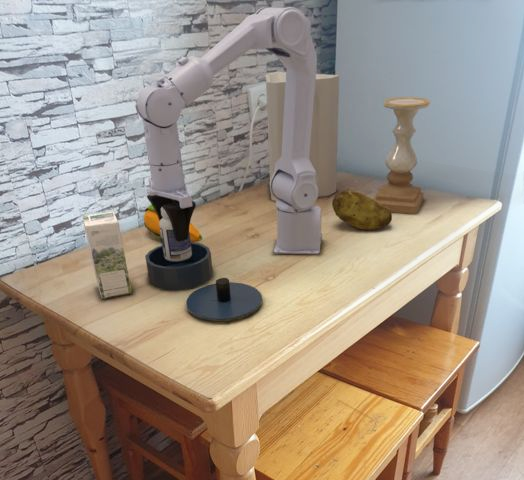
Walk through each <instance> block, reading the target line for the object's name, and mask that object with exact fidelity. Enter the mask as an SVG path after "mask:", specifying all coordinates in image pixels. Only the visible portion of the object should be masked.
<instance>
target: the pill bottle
mask: <svg viewBox="0 0 524 480" xmlns="http://www.w3.org/2000/svg"><path fill="white" fill-rule="evenodd" d="M161 215H162V217H163V218H162V219H161V220H160V222H159V227H160V233H161V238H160V240H161V244H162V245H161V246H163V252H164V257H165V259H167V260H169V261H174V262H177V261H183V260H186V259H188V258H190V257H191V256H192V249H191V241H190V232H189V234H188V239H187V240H183V241H179V242H178V241H177V240H176V238H175V236H174V232H173V228H172V225H171V222H170V219H169V217H168V215H167V213H166V211H165V210H164V208H163V207H161Z"/></svg>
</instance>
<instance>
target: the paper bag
mask: <svg viewBox="0 0 524 480" xmlns="http://www.w3.org/2000/svg"><path fill="white" fill-rule="evenodd" d="M285 84H286V71H285V72H284V71H274V72H271V73H266V74H265V88H266V91H265V92H266V117H267V139H268V141H267V142H268V145H267V146H268V168H269V169H268V170H269V171H268V172H269V182H270V181H271V178H272V176H273V174H274V170H275V163H276V162H277V161H278V160H279V159H280V157H281V154H282V137H283V119H284V102H285ZM339 94H340V74H323V73H316V79H315V91H314V103H313V116H312V128H311V140H310V153H309V160H310V162H311V164H312V165H313V167H314V169H315V171H316V184H317V187H318V197H317V198H323V197H328V196H331V195H332V194H334V193H337V177H338V176H337V173H338V171H337V170H338V138H339V137H338V136H339V135H338V133H339V100H340V99H339V98H340V97H339V96H340V95H339ZM270 200H271V201H274V202H276V197H274V196H273V195H272V193H271V192H270Z"/></svg>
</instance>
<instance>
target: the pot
mask: <svg viewBox="0 0 524 480" xmlns="http://www.w3.org/2000/svg"><path fill="white" fill-rule="evenodd" d="M191 249H192V256H191V257H190V258H188V259H186V260H183V261H177V262H174V261H169V260H167V259H165V257H164V252H163V246H162V245H159V246H156V247H154V248H152V249H151V250H149V251H148V252H147V254H146V255H145V256H144V257H145V263H146V269H147V275H148V281H149V283H150V284H151V285H152V286H153V287H155V288H157V289H160V290H164V291H184V290H185V291H186V290H190V289H195V288H197V287H200V286H202V285H204V284H206V283H207V282H209V281H210V279H211V278H212V277H213V273H214V268H213V259H212V252H211V249H210V247H209V246H207V245H205V244H203V243H200V242H191Z"/></svg>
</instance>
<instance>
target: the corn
mask: <svg viewBox="0 0 524 480" xmlns="http://www.w3.org/2000/svg"><path fill="white" fill-rule="evenodd" d="M144 212H145V213H144V214H143V221H144V227H145V228H146V229H147V231H149V232H150V233H151V234H153V235H154V236H155V237H157V238H159V239H161V233H160V227H159V222H160V221H159V218H158V216H157V213H156V211H155V209H154V207H153V206H152V204H150V205H149V206H147V207H146V208H145V209H144ZM189 232H190V241H191V242H195V243H198V242H201V241H202V240H203V236H202V235H201V234H200V231H199V230H198V228H197V227H196V226H194V224H193V223H192V222H190V226H189Z"/></svg>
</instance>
